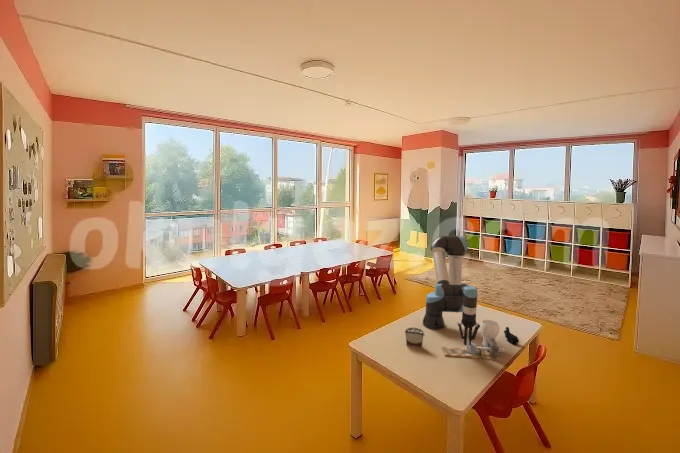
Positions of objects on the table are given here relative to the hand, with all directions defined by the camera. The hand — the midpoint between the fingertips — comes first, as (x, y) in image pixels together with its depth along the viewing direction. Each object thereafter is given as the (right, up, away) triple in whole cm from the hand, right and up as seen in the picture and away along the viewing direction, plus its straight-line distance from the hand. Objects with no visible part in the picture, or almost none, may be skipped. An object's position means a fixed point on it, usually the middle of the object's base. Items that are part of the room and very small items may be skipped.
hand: (466, 349), depth 193 cm
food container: (-29, -1, +12) cm, 31 cm away
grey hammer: (+11, -1, -2) cm, 12 cm away
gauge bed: (+1, -2, 0) cm, 3 cm away
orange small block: (+7, -2, -4) cm, 8 cm away
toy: (+35, 0, +17) cm, 39 cm away
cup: (+18, -1, +10) cm, 20 cm away
